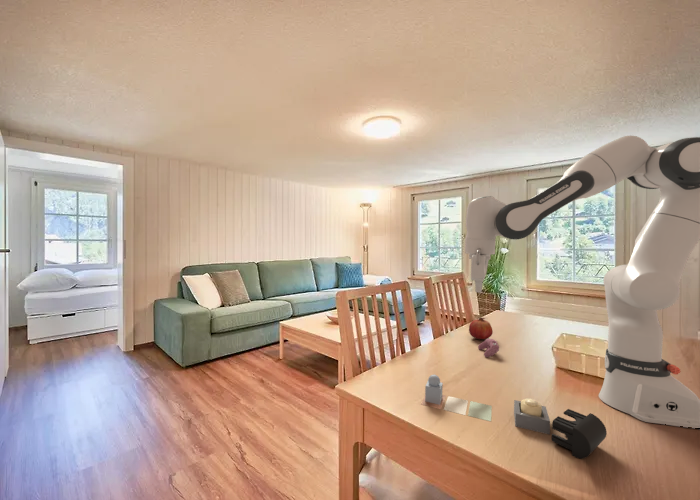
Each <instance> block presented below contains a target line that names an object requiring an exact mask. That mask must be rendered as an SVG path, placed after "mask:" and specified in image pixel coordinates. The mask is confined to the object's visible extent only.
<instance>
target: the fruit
mask: <svg viewBox="0 0 700 500" xmlns="http://www.w3.org/2000/svg"><path fill="white" fill-rule="evenodd" d="M485 319H486V318H485V317H477V318H476V319H474V320H472V321H471V322H469V323H470V324H469V326H468V333H469V334H470V336H471V337H472V338H473V339H477V340H486V339H488V338H489V339H490V338H491V337H492V335H493V333H494V332H493V327H492V325H491V323H490V322H489V321H488V320H485Z"/></svg>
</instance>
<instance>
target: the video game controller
mask: <svg viewBox="0 0 700 500" xmlns="http://www.w3.org/2000/svg"><path fill="white" fill-rule="evenodd" d="M477 348H478V350H480V351H482V350H485V349H486V350H485V352H484V353H483V356H484V357H485V358H490V357H492V356H494V355H495V354H496V353H498V352H499V351H500V346H499V344H498V341H497V340H496V339H493V338H490V337H489V338H487V339H484V341H482V342H481V343H479V345H478V346H477Z"/></svg>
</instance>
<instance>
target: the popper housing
mask: <svg viewBox="0 0 700 500" xmlns="http://www.w3.org/2000/svg"><path fill="white" fill-rule="evenodd" d="M513 402H514V403H513V416H514V424H515V427H517V428H521V429H526V430H528V431H533V432H538V433H542V434H545V435H550V434H551V433H550V432H551V430H550V429H551V420H550V417H549V412H548V409H547V406H545V405H541V406H542V415H541V417H538V416H534V415H529V414H525V413H521V401H520V400H516V399H514V401H513Z"/></svg>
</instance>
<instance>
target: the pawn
mask: <svg viewBox="0 0 700 500" xmlns="http://www.w3.org/2000/svg"><path fill="white" fill-rule="evenodd" d="M443 384H444V383H443V382H441V379H440V377H439V376H438V375H436V374H431V375H430V376H429V377H428V379H427V382H426V384H425V386H424V387H425V388H424V389H425V390H424V394H425V395H424V397H425V401H426V402H430V403H434V404H438V405H440V403H441V400H442V395H443Z"/></svg>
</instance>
